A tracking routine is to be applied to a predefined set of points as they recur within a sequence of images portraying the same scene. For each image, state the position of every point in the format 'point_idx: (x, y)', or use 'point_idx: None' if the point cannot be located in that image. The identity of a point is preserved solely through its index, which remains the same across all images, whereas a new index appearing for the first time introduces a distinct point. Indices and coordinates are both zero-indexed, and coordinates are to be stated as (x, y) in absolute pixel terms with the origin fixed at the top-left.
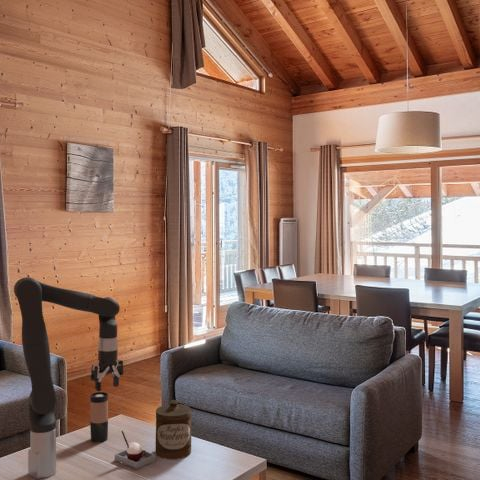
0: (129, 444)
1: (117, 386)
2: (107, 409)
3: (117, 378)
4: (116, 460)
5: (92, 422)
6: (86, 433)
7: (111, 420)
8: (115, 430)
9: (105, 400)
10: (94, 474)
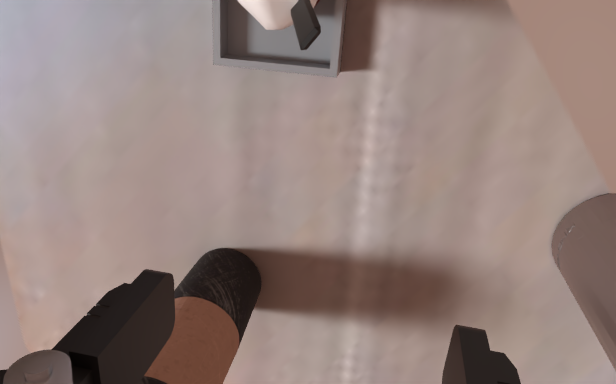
0: (279, 15)
1: (152, 270)
2: None
3: (89, 347)
4: (340, 59)
5: (238, 338)
6: None
7: None
8: None
9: None
10: (513, 38)
